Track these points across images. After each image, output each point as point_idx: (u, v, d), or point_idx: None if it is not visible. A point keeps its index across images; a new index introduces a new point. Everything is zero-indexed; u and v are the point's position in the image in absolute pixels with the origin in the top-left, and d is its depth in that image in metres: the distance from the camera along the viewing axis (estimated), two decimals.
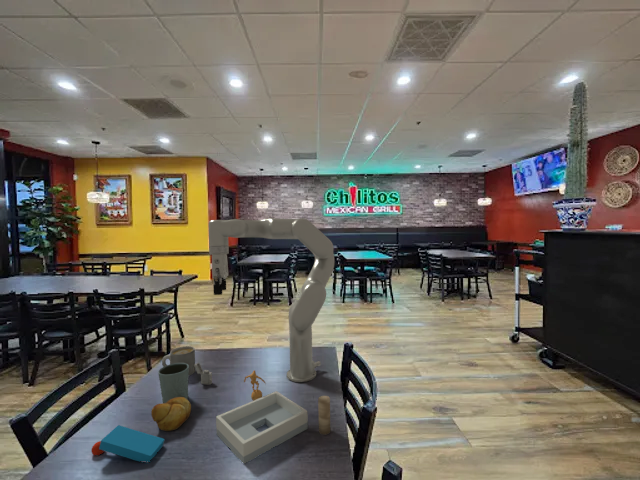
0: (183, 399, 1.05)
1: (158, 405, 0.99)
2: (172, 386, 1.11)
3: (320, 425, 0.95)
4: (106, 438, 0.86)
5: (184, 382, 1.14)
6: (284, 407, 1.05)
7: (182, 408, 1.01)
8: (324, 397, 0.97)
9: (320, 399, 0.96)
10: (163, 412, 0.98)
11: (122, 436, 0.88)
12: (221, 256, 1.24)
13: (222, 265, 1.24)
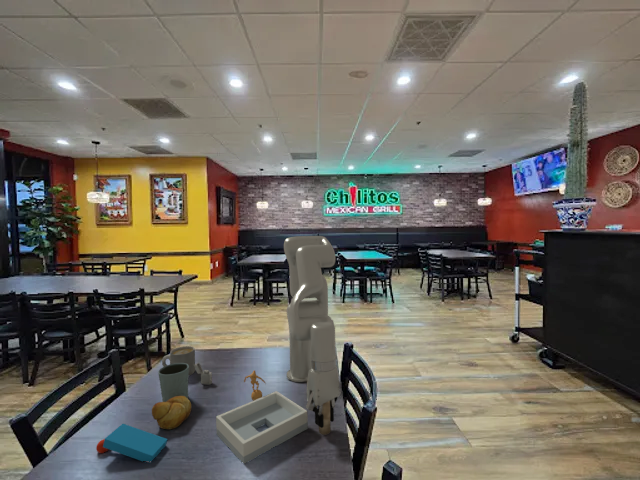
0: (183, 398, 1.05)
1: (158, 403, 1.00)
2: (172, 386, 1.11)
3: None
4: (110, 436, 0.87)
5: (184, 382, 1.14)
6: (284, 407, 1.05)
7: (182, 407, 1.02)
8: None
9: None
10: (163, 411, 0.99)
11: (125, 434, 0.89)
12: None
13: None
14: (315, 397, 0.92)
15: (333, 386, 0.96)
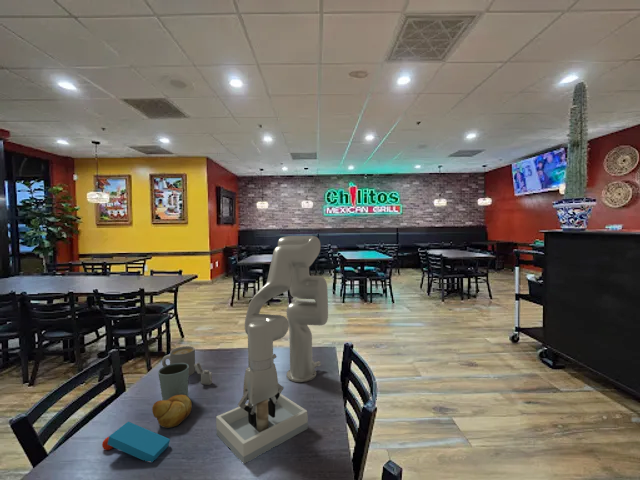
0: (184, 397, 1.06)
1: (159, 402, 1.01)
2: (172, 386, 1.11)
3: (257, 426, 0.96)
4: (114, 434, 0.88)
5: (184, 382, 1.14)
6: (284, 407, 1.05)
7: (182, 405, 1.02)
8: None
9: None
10: (163, 409, 1.00)
11: (129, 433, 0.90)
12: None
13: None
14: (249, 396, 0.92)
15: (270, 385, 0.96)
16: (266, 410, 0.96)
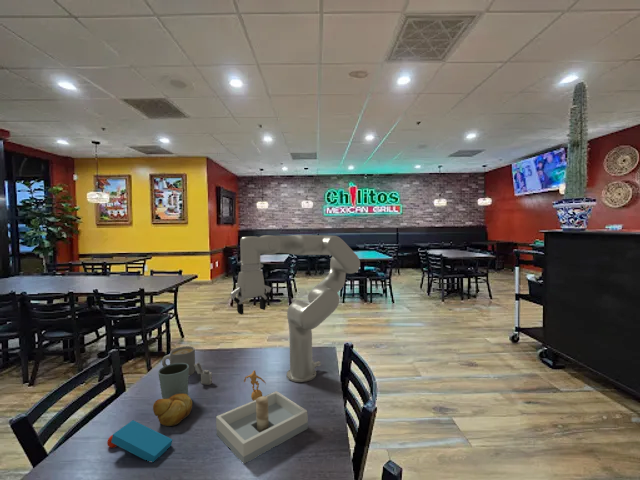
0: (185, 396, 1.07)
1: (159, 400, 1.02)
2: (172, 386, 1.11)
3: (257, 426, 0.96)
4: (118, 432, 0.89)
5: (184, 382, 1.14)
6: (284, 407, 1.05)
7: (182, 404, 1.03)
8: (262, 398, 0.97)
9: (258, 399, 0.96)
10: (164, 407, 1.00)
11: (133, 431, 0.90)
12: None
13: None
14: (242, 290, 1.19)
15: (258, 285, 1.22)
16: (266, 410, 0.96)
